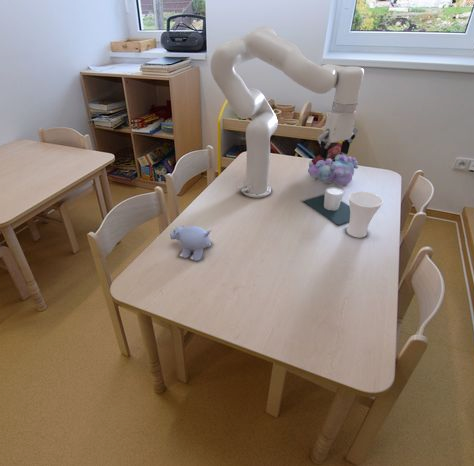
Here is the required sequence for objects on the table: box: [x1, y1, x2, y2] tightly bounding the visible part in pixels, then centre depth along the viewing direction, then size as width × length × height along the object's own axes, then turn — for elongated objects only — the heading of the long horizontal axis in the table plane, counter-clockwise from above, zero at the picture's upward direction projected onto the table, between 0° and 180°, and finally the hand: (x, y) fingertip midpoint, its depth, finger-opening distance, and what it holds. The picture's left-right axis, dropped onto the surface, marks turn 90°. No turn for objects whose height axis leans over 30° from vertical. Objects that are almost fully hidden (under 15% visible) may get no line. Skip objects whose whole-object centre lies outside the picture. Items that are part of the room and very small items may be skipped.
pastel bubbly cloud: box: [307, 142, 359, 187], centre depth 146 cm, size 20×22×18 cm
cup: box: [346, 191, 384, 238], centre depth 112 cm, size 10×10×14 cm
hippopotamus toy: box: [169, 224, 213, 262], centre depth 110 cm, size 11×15×10 cm
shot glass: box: [324, 186, 345, 211], centre depth 128 cm, size 7×7×7 cm
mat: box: [303, 194, 350, 226], centre depth 129 cm, size 13×20×1 cm, turn 24°
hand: (333, 155), depth 121 cm, fingers open, 9 cm apart
